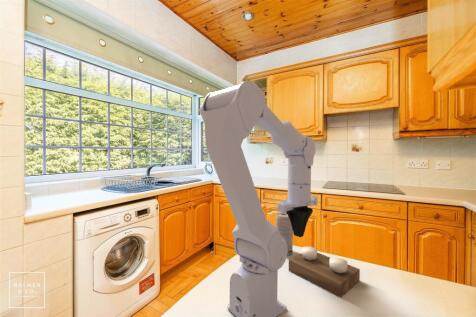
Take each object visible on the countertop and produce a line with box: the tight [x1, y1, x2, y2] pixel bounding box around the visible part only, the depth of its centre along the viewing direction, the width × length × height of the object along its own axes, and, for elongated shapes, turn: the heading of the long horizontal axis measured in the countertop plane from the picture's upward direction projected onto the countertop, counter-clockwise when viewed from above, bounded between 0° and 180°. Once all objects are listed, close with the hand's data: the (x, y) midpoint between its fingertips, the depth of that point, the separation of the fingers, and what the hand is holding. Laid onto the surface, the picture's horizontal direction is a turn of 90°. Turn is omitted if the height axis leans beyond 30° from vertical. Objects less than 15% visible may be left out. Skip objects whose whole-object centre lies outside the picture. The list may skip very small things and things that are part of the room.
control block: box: [288, 252, 361, 299], centre depth 55 cm, size 10×14×3 cm
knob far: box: [301, 246, 318, 261], centre depth 58 cm, size 4×4×5 cm
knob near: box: [329, 256, 348, 274], centre depth 52 cm, size 4×4×5 cm
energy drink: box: [275, 212, 294, 256], centre depth 69 cm, size 5×5×12 cm
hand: (298, 235), depth 55 cm, fingers closed
